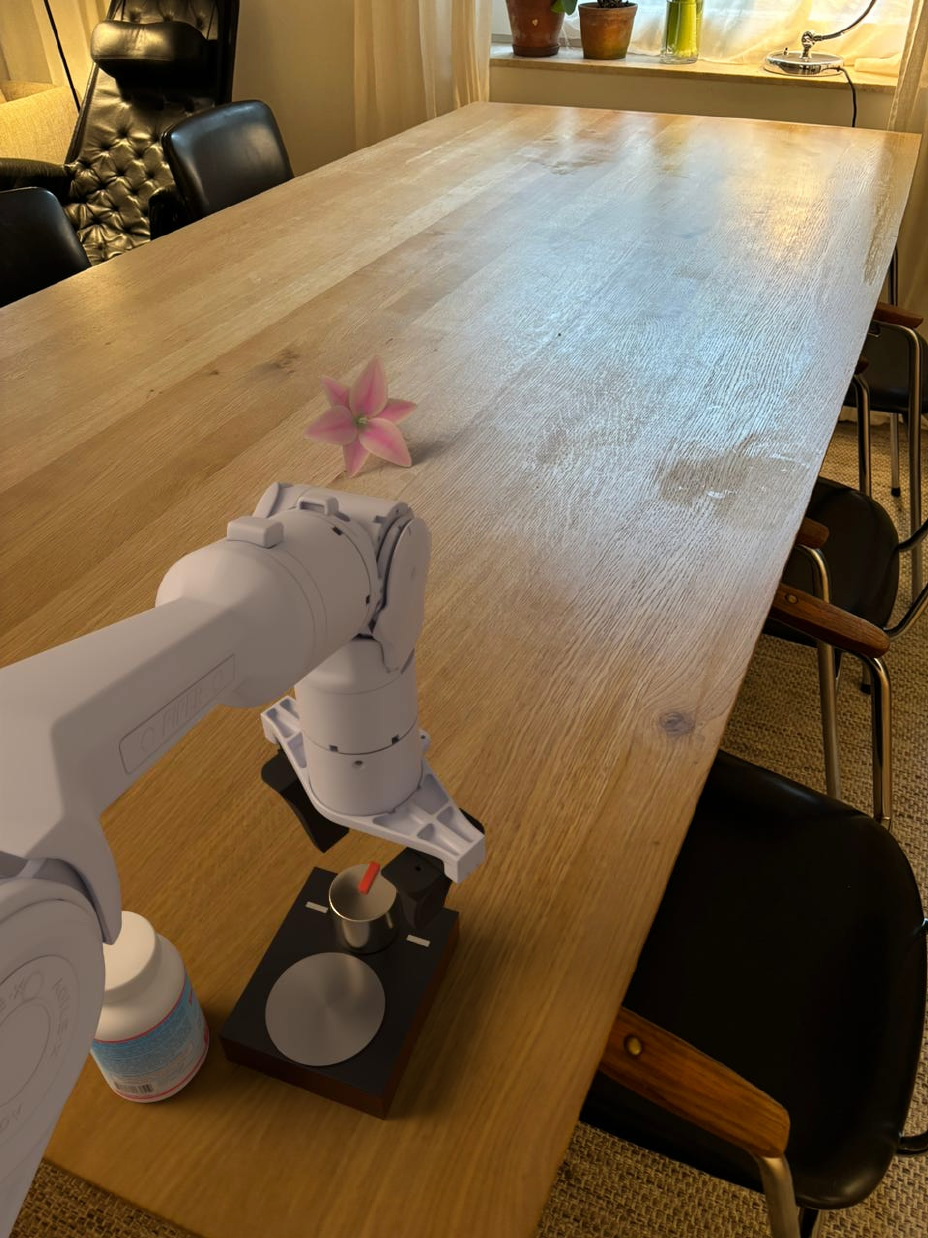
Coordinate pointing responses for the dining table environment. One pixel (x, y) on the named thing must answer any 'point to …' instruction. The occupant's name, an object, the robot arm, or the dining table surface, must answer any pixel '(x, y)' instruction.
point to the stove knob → (364, 908)
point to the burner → (325, 1009)
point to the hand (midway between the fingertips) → (378, 876)
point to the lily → (362, 418)
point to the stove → (408, 989)
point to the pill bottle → (148, 1016)
